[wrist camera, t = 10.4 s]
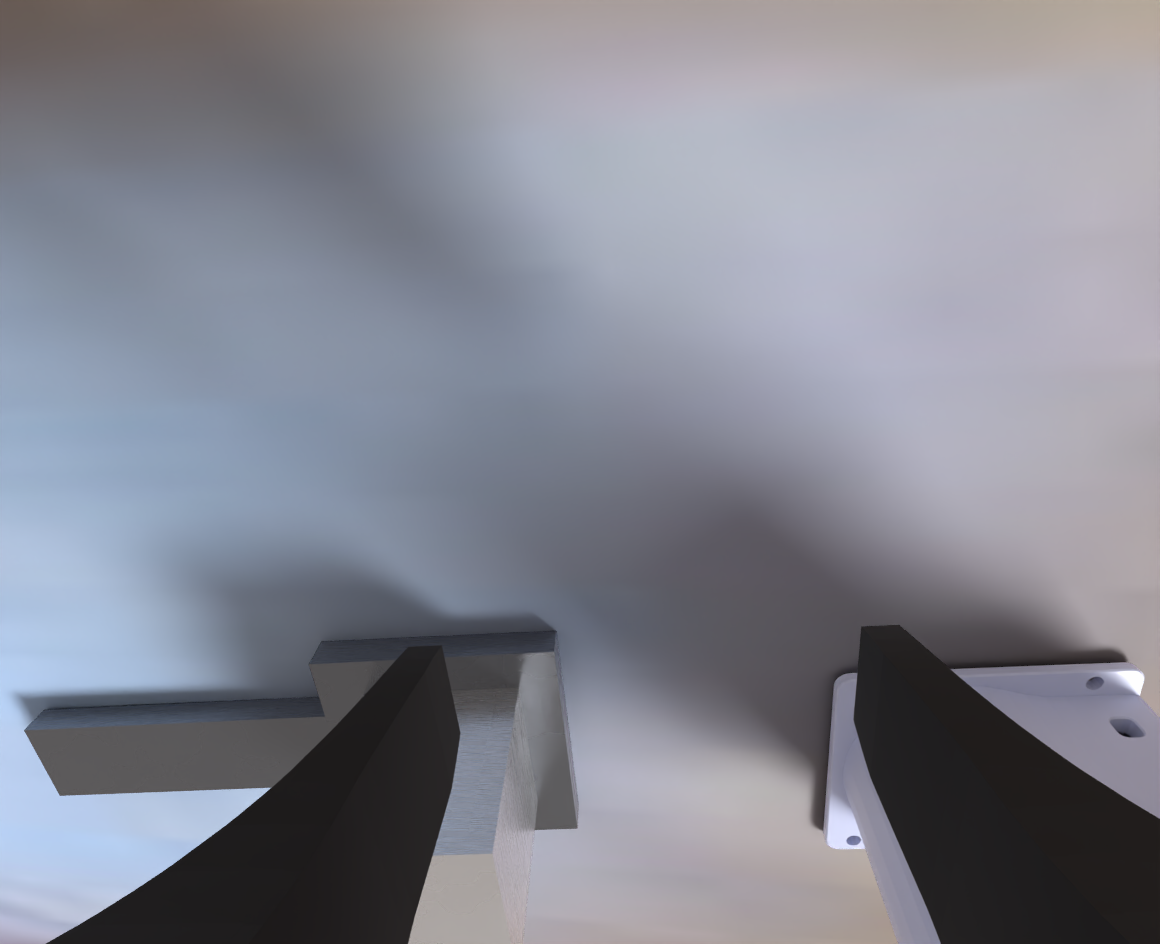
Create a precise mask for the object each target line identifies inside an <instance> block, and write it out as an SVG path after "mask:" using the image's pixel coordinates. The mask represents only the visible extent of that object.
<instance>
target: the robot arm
mask: <svg viewBox="0 0 1160 944" xmlns="http://www.w3.org/2000/svg"><path fill="white" fill-rule="evenodd" d="M1093 677H1095V678H1093ZM1091 678H1093V679H1092V680H1090V681H1088V680H1089V679H1091ZM1143 682H1144V675H1143V673H1142V672H1141V670H1140V669H1139V668H1138V667H1137V666H1136V665H1134V664H1132V663H1127V662H1119V663H1094V664H1068V665H1043V666H1017V667H992V668H967V669H950V668H948V667H947V666H946V665H945V664H944V663H943V662H941V661H940V660H939V659H938V658H937V657H936V656H934V655H933V654H932V653H931V652H930V651H929V650H928V649H926V648H925V647H924V646H923V645H922V644H921V643H920V642H918V641H917V640H916V639H915V638H914V637H913V636H911V635H910V634H909V633H908V632H907V631H906V630H904V629H903V628H902V627H901V626H900V625H888V626H865V627H861V639H860V650H859V661H858V672H857V673H848V674H844V675H842V676H840V677H839V678H838V679H837V680H836V681H835V684H834V690H833V704H832V718H831V732H830V746H829V760H828V774H827V788H826V802H825V815H824V829H823V834H824V838H825V841H826V844H827V845H828V846H829V847H831V848H834V849H866V852H867V855H868V858H869V861H870V864H871V866H872V869H873V872H874V875H875V878H876V881H877V884H878V887H879V890H880V892H881V895H882V898H883V901H884V904H885V907H886V910H887V913H888V916H889V918H890V921H891V924H892V927H893V930H894V933H895V936H896V939H897V942H898V944H1160V717H1159V716H1158V715H1157V714H1156V713H1155V712H1154V711H1153V710H1152V709H1151V707H1150V706H1149V705H1148V704H1147V703H1146V702H1145V701H1144V700H1143V699H1142V698H1141V697H1140V692H1141V689H1142V686H1143ZM460 734H461V733H460V728H459V723H458V719H457V714H456V709H455V705H454V700H453V695H452V691H451V686H450V681H449V677H448V672H447V667H446V662H445V658H444V653H443V648H442V645H436V646H414V647H408V648H407V649H406V650H405V651H404V652H403V653H402V654H401V655H400V656H399V657H398V658H397V659H396V660H395V662H394V663H393V664H392V665H391V666H390V667H389V668H388V669H387V670H386V671H385V673H384V674H383V675H382V676H381V677H380V678H379V679H378V680H377V682H376V683H375V684H374V685H373V686H372V687H371V688H370V689H369V690H368V692H367V693H366V694H365V695H364V696H363V697H362V698H361V699H360V700H359V701H358V703H357V704H356V705H355V706H354V707H353V708H352V709H351V710H350V711H349V712H348V713H347V714H346V715H345V716H344V718H343V719H342V720H341V721H340V722H339V723H338V724H337V725H336V726H335V727H334V728H333V729H332V730H331V731H330V732H329V733H328V734H327V735H326V736H325V737H324V738H323V739H322V740H321V741H320V742H319V743H318V744H317V745H316V746H315V747H314V748H313V749H312V750H311V751H310V752H309V753H308V754H307V755H306V756H305V757H304V758H303V759H302V760H301V761H300V762H299V763H298V764H297V765H296V766H295V767H294V768H293V769H292V770H291V771H290V772H289V773H287V774H286V775H285V776H284V777H283V778H282V779H281V780H280V781H279V782H277V783H276V784H275V785H274V786H273V787H272V788H271V789H270V790H268V791H267V792H266V793H265V794H264V795H263V796H261V797H260V798H259V799H258V800H257V801H255V802H254V803H253V804H252V805H251V806H249V807H248V808H247V809H246V810H245V811H243V812H242V813H241V814H240V815H239V816H237V817H236V818H235V819H234V820H232V821H231V822H230V823H228V824H227V825H226V826H225V827H223V828H222V829H221V830H219V831H218V832H216V833H215V834H214V835H212V836H211V837H210V838H208V839H207V840H206V841H204V842H203V843H202V844H200V845H199V846H197V847H196V848H195V849H193V850H192V851H191V852H189V853H188V854H187V855H185V856H184V857H183V858H181V859H180V860H179V861H177V862H176V863H174V864H173V865H172V866H170V867H169V868H167V869H166V870H164V871H163V872H162V873H160V874H159V875H157V876H156V877H154V878H153V879H151V880H150V881H148V882H147V883H145V884H144V885H142V886H141V887H139V888H138V889H136V890H135V891H133V892H131V893H130V894H128V895H127V896H125V897H123V898H122V899H120V900H119V901H117V902H116V903H114V904H112V905H111V906H109V907H108V908H106V909H104V910H103V911H101V912H100V913H98V914H96V915H95V916H93V917H91V918H90V919H88V920H86V921H85V922H83V923H81V924H80V925H78V926H76V927H75V928H73V929H71V930H69V931H67V932H66V933H64V934H62V935H60V936H59V937H57V938H55V939H53V940H51V941H50V942H48V943H46V944H408V942H409V938H410V934H411V930H412V926H413V922H414V918H415V914H416V911H417V907H418V904H419V901H420V897H421V894H422V890H423V887H424V883H425V880H426V877H427V873H428V870H429V866H430V863H431V859H432V856H433V853H434V849H435V846H436V842H437V839H438V836H439V832H440V829H441V825H442V822H443V818H444V814H445V811H446V807H447V804H448V800H449V797H450V793H451V789H452V784H453V778H454V772H455V767H456V760H457V754H458V747H459V740H460Z"/></svg>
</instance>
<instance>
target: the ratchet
mask: <svg viewBox="0 0 1160 944" xmlns="http://www.w3.org/2000/svg"><path fill="white" fill-rule="evenodd" d="M436 645H442V648H443V653H444V658H445V662H446V667H447V672H448V677H449V681H450V686H451V691H455V690H475V689H495V688H515V687H519V691H520V697H521V703H522V709H523V715H524V721H525V727H526V734H527V740H528V746H529V752H530V758H531V764H532V770H533V776H534V782H535V788H536V794H537V800H538V803H537V812H536V822H535V830H546V829H576V828H578V806H579V803H578V795H577V787H576V780H575V772H574V764H573V756H572V749H571V741H570V733H569V725H568V718H567V710H566V702H565V694H564V687H563V679H562V671H561V663H560V656H559V648H558V640H557V633H556V631H541V632H519V633H497V634H475V635H453V636H431V637H409V638H387V639H365V640H343V641H322V642H321V644H320V646H319V647H318V649H317V651H316V653H315V654H314V656H313V658H312V660H311V662H310V663H309V666H310V670H311V673H312V676H313V679H314V682H315V686H316V689H317V692H318V695H319V697H307V698H282V699H261V700H240V701H219V702H198V703H177V704H156V705H135V706H114V707H93V708H72V709H51V710H44V711H43V712H42V713H41V714H40V715H39V716H38V717H37V718H36V719H35V720H34V721H33V722H32V723H31V724H30V725H29V726H28V727H27V728H26V729H25V730H24V731H25V733H26V735H27V736H28V738H29V740H30V742H31V744H32V746H33V747H34V749H35V751H36V753H37V755H38V757H39V758H40V760H41V762H42V764H43V766H44V768H45V769H46V771H47V773H48V775H49V777H50V778H51V780H52V782H53V784H54V786H55V788H56V789H57V791H58V793H59V795H60V796H65V795H91V794H116V793H142V792H168V791H194V790H219V789H245V788H271V787H273V786H274V785H275V784H276V783H277V782H279V781H280V780H281V779H282V778H283V777H284V776H285V775H286V774H287V773H289V772H290V771H291V770H292V769H293V768H294V767H295V766H296V765H297V764H298V763H299V762H300V761H301V760H302V759H303V758H304V757H305V756H306V755H307V754H308V753H309V752H310V751H311V750H312V749H313V748H314V747H315V746H316V745H317V744H318V743H319V742H320V741H321V740H322V739H323V738H324V737H325V736H326V735H327V734H328V733H329V732H330V731H331V730H332V729H333V728H334V727H335V726H336V725H337V724H338V723H339V722H340V721H341V720H342V719H343V718H344V716H345V715H346V714H347V713H348V712H349V711H350V710H351V709H352V708H353V707H354V706H355V705H356V704H357V703H358V701H359V700H360V699H361V698H362V696H363V695H365V694H366V693H367V692H368V690H369V689H370V688H371V687H372V686H373V685H374V684H375V683H376V682H377V680H378V679H379V678H380V677H381V676H382V675H383V674H384V673H385V671H386V670H387V669H388V668H389V667H390V666H391V665H392V664H393V663H394V662H395V660H396V659H397V658H398V657H399V656H400V655H401V654H402V653H403V652H404V651H405V650H406V649H407V648H408V647H414V646H436Z"/></svg>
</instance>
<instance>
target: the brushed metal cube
mask: <svg viewBox="0 0 1160 944" xmlns="http://www.w3.org/2000/svg"><path fill="white" fill-rule="evenodd" d="M452 695H453V700H454V705H455V709H456V714H457V719H458V723H459V728H460V733H461V734H460V740H459V747H458V754H457V760H456V767H455V772H454V778H453V784H452V789H451V793H450V797H449V800H448V804H447V807H446V811H445V814H444V818H443V822H442V825H441V829H440V832H439V836H438V839H437V842H436V846H435V849H434V853H433V856H432V859H431V863H430V866H429V870H428V873H427V877H426V880H425V883H424V887H423V890H422V894H421V897H420V901H419V904H418V907H417V911H416V914H415V918H414V922H413V926H412V930H411V934H410V938H409V942H408V944H523V937H524V927H525V918H526V908H527V898H528V889H529V879H530V870H531V860H532V851H533V841H534V831H535V822H536V812H537V803H538V800H537V794H536V788H535V782H534V776H533V770H532V764H531V758H530V752H529V746H528V740H527V734H526V727H525V721H524V715H523V709H522V703H521V697H520V691H519V687H515V688H495V689H475V690H455V691H452ZM363 696H364V695H363ZM363 696H362V697H363Z"/></svg>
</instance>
